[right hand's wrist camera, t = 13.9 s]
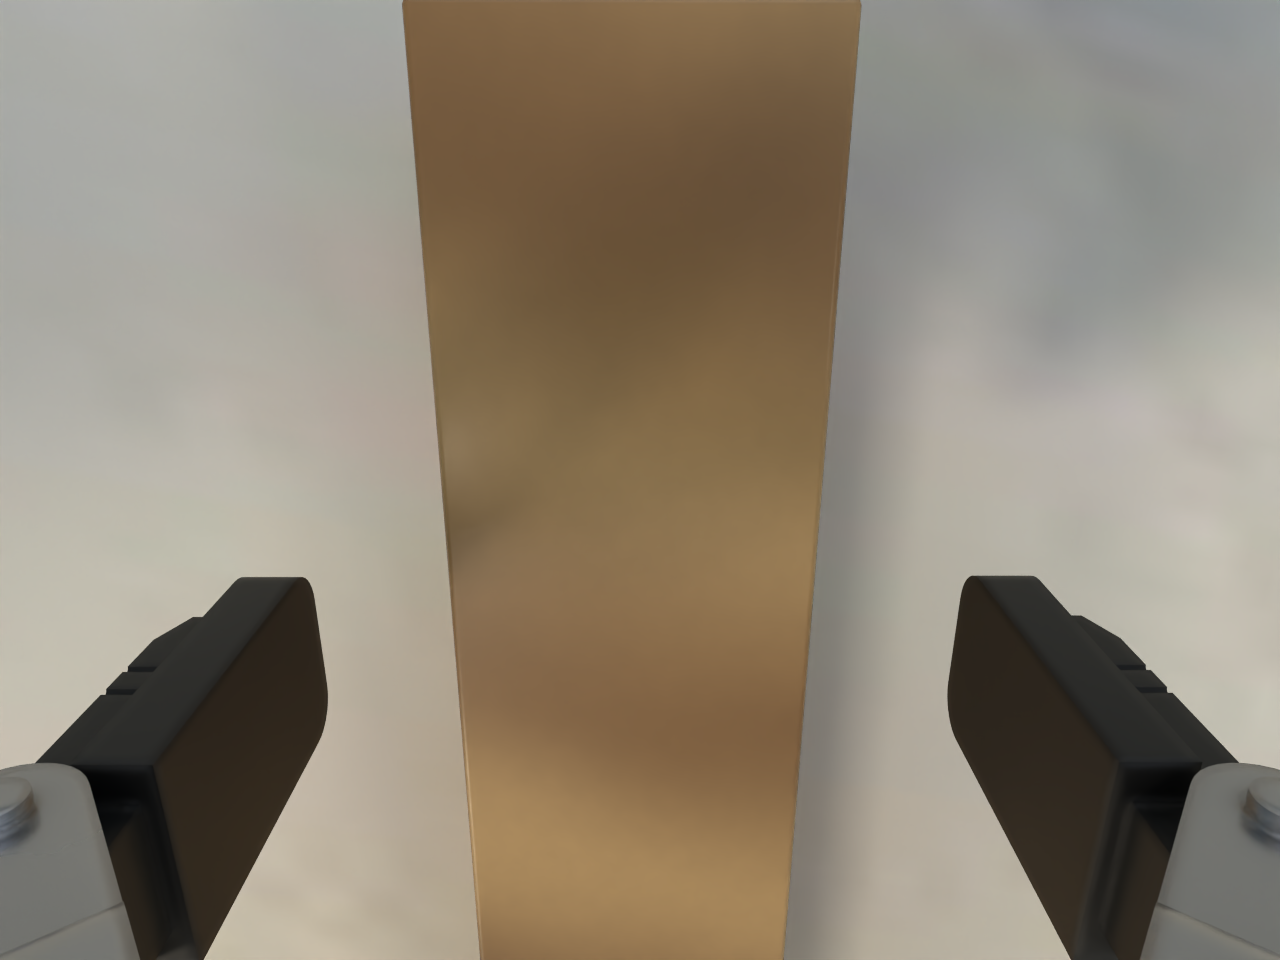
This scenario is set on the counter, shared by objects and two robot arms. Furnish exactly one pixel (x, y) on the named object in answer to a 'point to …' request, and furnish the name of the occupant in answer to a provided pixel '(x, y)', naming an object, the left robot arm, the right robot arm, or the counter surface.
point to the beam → (631, 447)
